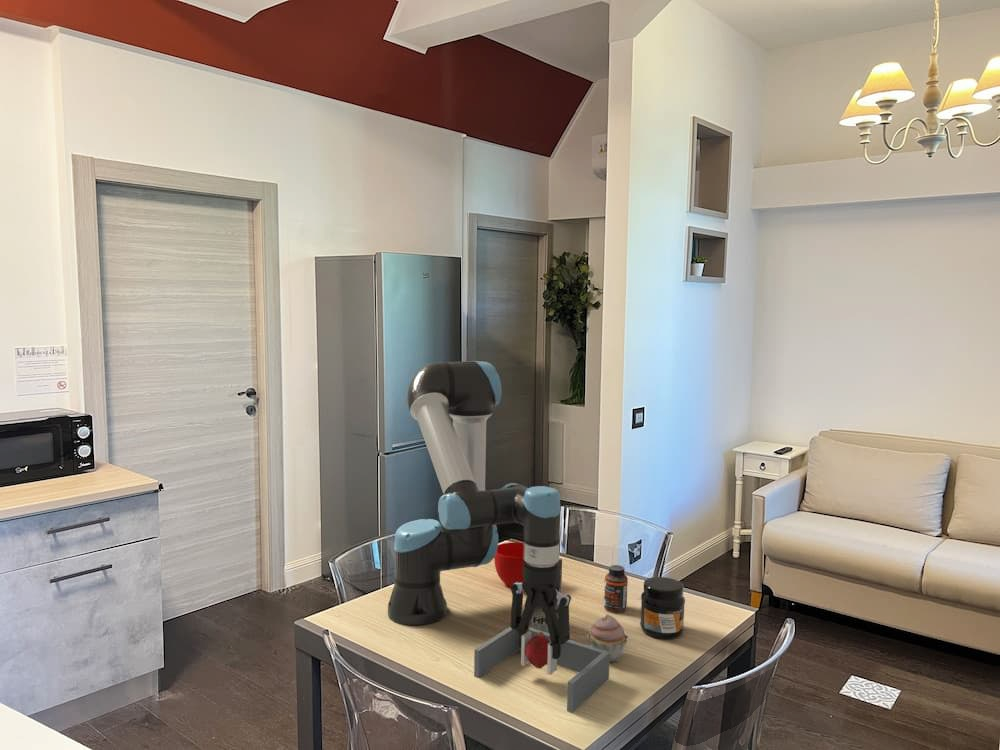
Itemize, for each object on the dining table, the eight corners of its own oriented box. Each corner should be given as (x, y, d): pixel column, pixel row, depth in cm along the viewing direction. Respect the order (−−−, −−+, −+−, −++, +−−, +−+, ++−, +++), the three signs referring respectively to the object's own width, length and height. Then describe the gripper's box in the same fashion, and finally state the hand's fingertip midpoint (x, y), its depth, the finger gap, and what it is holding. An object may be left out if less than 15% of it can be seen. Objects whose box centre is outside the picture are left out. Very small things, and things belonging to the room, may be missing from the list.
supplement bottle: (601, 611, 191) (602, 569, 190) (606, 602, 197) (608, 561, 196) (623, 615, 189) (625, 572, 188) (628, 606, 194) (630, 565, 193)
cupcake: (584, 646, 171) (585, 605, 170) (624, 647, 171) (625, 606, 170) (588, 665, 162) (589, 622, 161) (630, 667, 162) (631, 623, 161)
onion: (544, 677, 152) (545, 640, 151) (520, 670, 155) (520, 633, 154) (557, 666, 156) (558, 630, 156) (533, 659, 160) (534, 623, 159)
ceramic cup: (553, 593, 203) (554, 558, 202) (492, 591, 203) (493, 556, 202) (551, 575, 216) (552, 542, 215) (493, 574, 216) (494, 541, 215)
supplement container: (670, 644, 173) (671, 595, 172) (631, 630, 180) (633, 583, 179) (691, 630, 180) (693, 583, 179) (654, 617, 188) (655, 572, 186)
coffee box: (557, 636, 176) (558, 571, 175) (530, 633, 178) (532, 569, 176) (561, 620, 185) (563, 558, 184) (536, 617, 187) (537, 556, 185)
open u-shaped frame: (474, 675, 157) (474, 649, 156) (515, 647, 170) (515, 623, 169) (572, 712, 143) (573, 683, 143) (608, 679, 156) (609, 652, 156)
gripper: (494, 557, 155) (492, 661, 158) (571, 577, 145) (568, 688, 147) (513, 547, 162) (511, 648, 164) (589, 566, 151) (586, 673, 153)
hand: (538, 667), depth 155 cm, fingers closed on onion, 6 cm apart
